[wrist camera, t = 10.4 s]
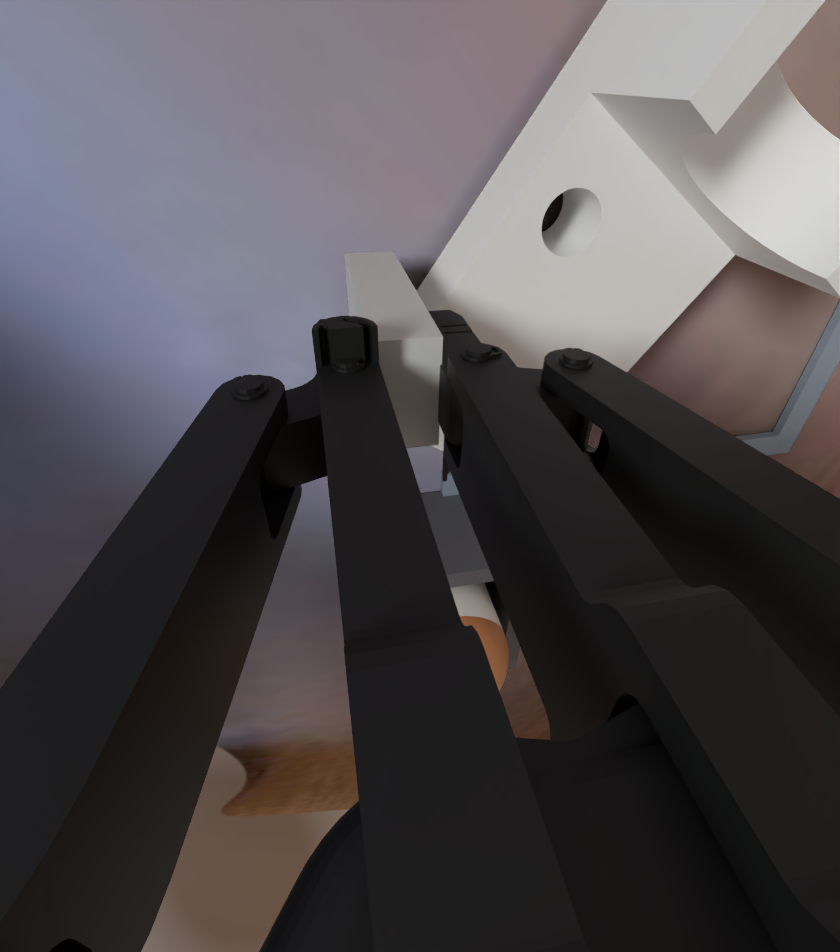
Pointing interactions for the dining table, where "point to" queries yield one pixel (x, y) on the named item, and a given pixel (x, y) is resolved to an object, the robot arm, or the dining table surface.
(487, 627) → the orange and white capsule
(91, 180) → the dining table surface
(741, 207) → the bracket
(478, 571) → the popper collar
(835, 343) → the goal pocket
